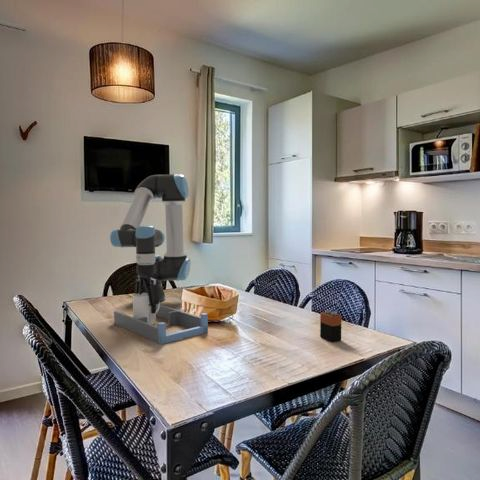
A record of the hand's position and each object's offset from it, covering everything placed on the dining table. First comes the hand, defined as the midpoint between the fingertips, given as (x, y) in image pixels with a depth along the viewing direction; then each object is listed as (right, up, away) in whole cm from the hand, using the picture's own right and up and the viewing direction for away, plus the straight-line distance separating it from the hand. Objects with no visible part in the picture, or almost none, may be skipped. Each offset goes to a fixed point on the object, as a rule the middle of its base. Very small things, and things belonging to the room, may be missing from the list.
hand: (146, 318), depth 161 cm
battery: (+70, -3, -22) cm, 74 cm away
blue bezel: (+18, -3, -19) cm, 26 cm away
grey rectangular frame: (+6, -2, -6) cm, 9 cm away
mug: (0, -2, 0) cm, 2 cm away
